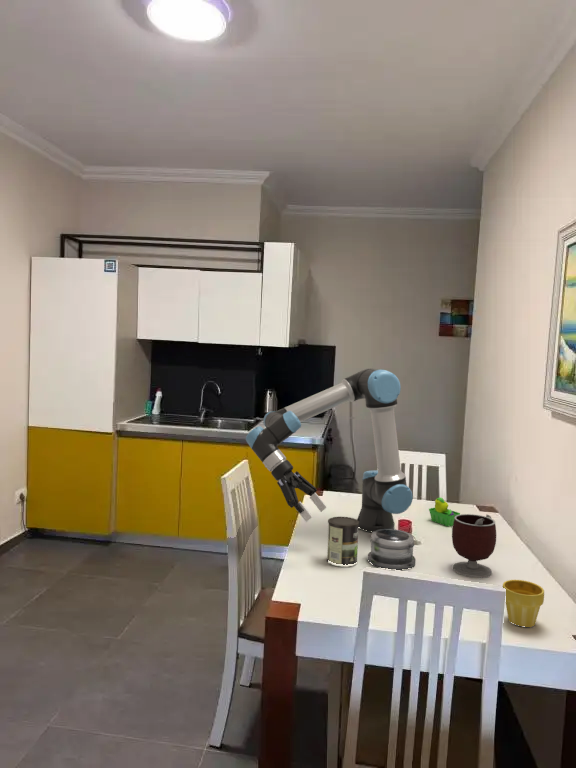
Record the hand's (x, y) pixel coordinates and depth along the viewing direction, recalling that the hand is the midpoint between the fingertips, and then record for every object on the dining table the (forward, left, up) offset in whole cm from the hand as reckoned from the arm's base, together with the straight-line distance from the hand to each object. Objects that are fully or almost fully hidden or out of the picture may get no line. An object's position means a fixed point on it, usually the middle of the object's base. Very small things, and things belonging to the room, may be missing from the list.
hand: (317, 514), depth 200 cm
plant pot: (+69, +6, -15) cm, 71 cm away
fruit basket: (+9, +71, -15) cm, 73 cm away
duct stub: (+20, +17, -15) cm, 30 cm away
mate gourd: (+43, +30, -15) cm, 54 cm away
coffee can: (+9, +4, -15) cm, 18 cm away
